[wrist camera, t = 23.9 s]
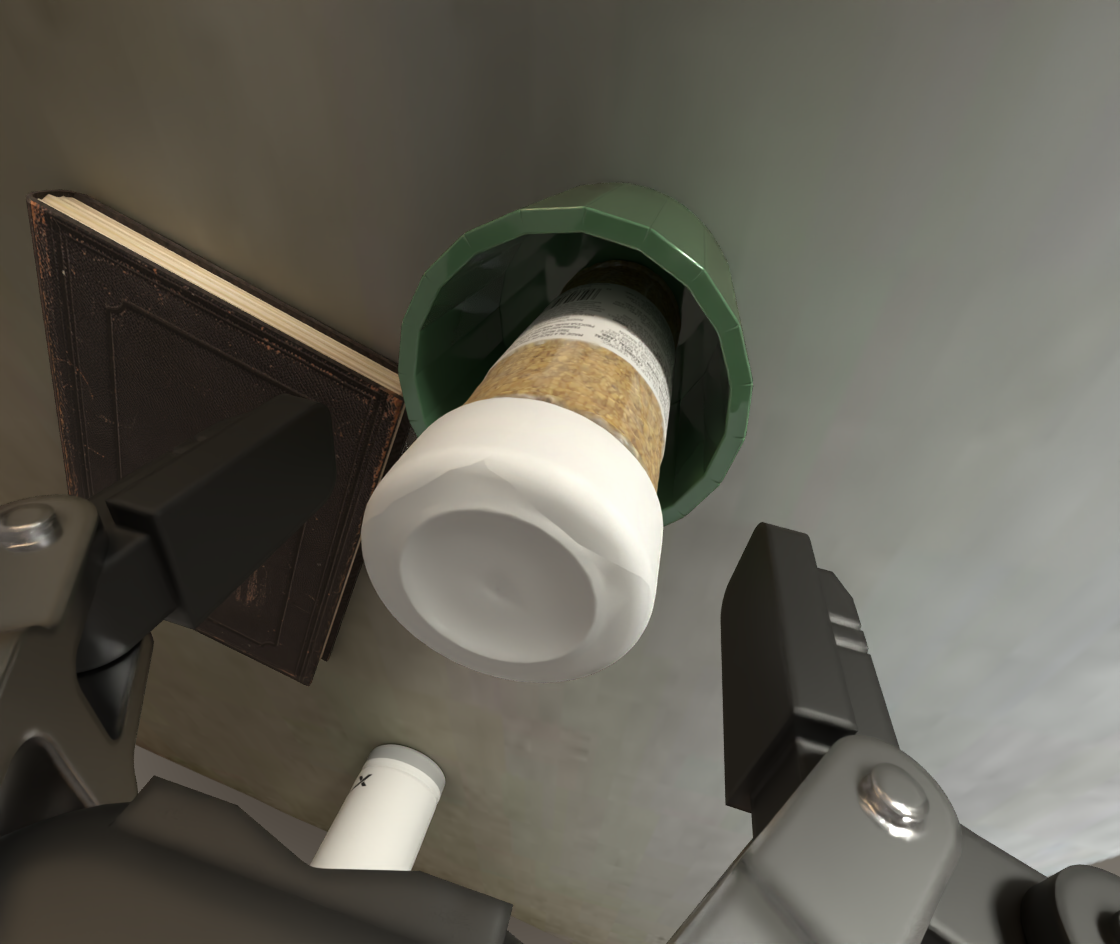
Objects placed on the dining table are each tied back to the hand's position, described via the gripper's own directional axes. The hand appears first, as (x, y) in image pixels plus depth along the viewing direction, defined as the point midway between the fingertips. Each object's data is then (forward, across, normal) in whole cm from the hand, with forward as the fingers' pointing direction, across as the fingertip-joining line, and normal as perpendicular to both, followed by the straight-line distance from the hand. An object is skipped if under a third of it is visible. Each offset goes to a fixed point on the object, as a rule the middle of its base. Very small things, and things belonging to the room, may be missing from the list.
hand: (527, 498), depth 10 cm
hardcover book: (+12, +18, +13) cm, 25 cm away
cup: (+12, 0, 0) cm, 12 cm away
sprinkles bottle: (+11, 0, 0) cm, 11 cm away
